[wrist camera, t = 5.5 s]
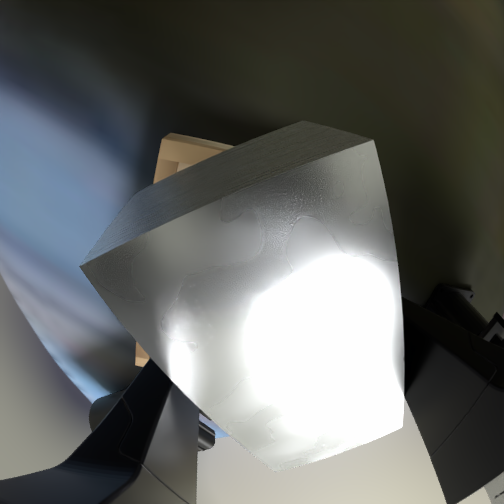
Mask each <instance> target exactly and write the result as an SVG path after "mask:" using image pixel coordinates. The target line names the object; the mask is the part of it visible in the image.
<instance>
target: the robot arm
mask: <svg viewBox="0 0 504 504" xmlns="http://www.w3.org/2000/svg"><path fill="white" fill-rule="evenodd" d="M474 295H475V293H474V292H473V291H472V290H469V289H464V288H460V287H455V286H450V285H446V284H439V285H438V286H437V287H436V289H435V291H434V293H433V294H432V296H431V298H430V300H429V301H428V303H427V305H426V306H425V308H423V307H421V306H419V305H417V304H415V303H413V302H411V301H409V300H407V299H405V298H403V297H401V301H402V314H403V332H404V396H405V399H406V401H407V403H408V406H409V408H410V410H411V412H412V415H413V417H414V419H415V422H416V424H417V426H418V429H419V431H420V433H421V436H422V438H423V441H424V443H425V445H426V448H427V450H428V453H429V456H430V459H431V461H432V464H433V467H434V469H435V471H436V474H437V477H438V480H439V483H440V485H441V488H442V491H443V493H444V497H445V500H446V503H447V504H457V503H459V502H460V501H462V500H464V499H465V498H467V497H468V496H470V495H472V494H473V493H474V492H476V491H478V490H479V489H481V488H482V487H485V489H486V492H487V494H488V496H489V498H490V500H491V503H492V504H504V319H503V318H502V317H501V316H500V315H499V314H498V313H497V312H496V313H495V314H494V316H493V318H492V320H491V321H490V322H489V323H488V322H487V321H486V320H485V319H484V317H483V316H482V315H481V314H480V313H479V312H478V311H477V310H476V309H475V308H474V307H473V306H472V305H471V304H470V302H471V301H472V299H473V297H474ZM199 409H200V408H199V407H198V406H197V405H196V404H195V403H194V402H193V401H192V400H190V399H189V398H188V397H187V396H186V395H185V394H184V393H183V392H182V391H181V390H180V388H179V387H178V386H177V385H176V384H175V383H174V382H173V381H172V380H171V379H170V378H169V377H168V376H167V375H166V374H165V373H164V372H163V371H162V370H161V368H160V367H159V366H158V365H157V364H156V363H155V362H154V361H153V360H152V359H151V357H150V359H149V360H148V361H147V363H146V364H145V365H144V367H143V368H142V369H141V371H140V372H139V373H138V375H137V376H136V377H135V379H134V380H133V381H132V383H131V384H130V385H129V387H128V388H127V389H126V391H125V392H124V393H123V395H122V398H120V399H119V400H118V401H117V403H116V404H115V405H114V407H113V408H112V409H111V411H110V412H109V413H108V414H107V416H106V417H105V418H104V419H103V420H102V422H101V423H100V424H99V425H98V426H97V427H96V428H95V430H94V431H93V432H92V433H91V434H90V435H89V436H88V437H87V438H86V439H85V440H84V441H83V442H82V444H81V445H80V446H79V447H78V448H77V449H76V450H75V451H74V452H73V453H72V454H71V455H70V456H69V457H68V458H67V459H66V460H65V461H64V462H62V463H61V464H59V465H57V466H55V467H53V468H50V469H46V470H43V471H39V472H35V473H31V474H27V475H23V476H18V477H14V478H9V479H4V480H0V504H196V488H197V487H196V486H197V454H198V429H199Z"/></svg>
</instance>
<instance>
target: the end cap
mask: <svg viewBox="0 0 504 504" xmlns="http://www.w3.org/2000/svg"><path fill="white" fill-rule="evenodd" d="M125 391H126V389H125V390H122V391H119V392H116V393H113V394H110V395H107V396H104V397H101V398H99V399H97V400H96V401H94V403H93V404H92V406H91V409H90V413H89V423H90V428H91V430H92V432H93V431H94V430H95V428H96V427H97V426H98V425H99V424H100V423H101V422H102V420H103V419H104V418H105V417H106V416H107V414H108V413H109V412H110V411H111V409H112V408H113V407H114V405H115V404H116V403H117V401H118V400H119V399H120V398H122V395H123V393H124V392H125ZM199 413H201V414H202V415H203V416H205V417H206V418H207V419H209V420H212V419H210V418H209V417H208V416H207V415H206V414H205V413H204V412H203V411H202V410H201V409H199ZM214 444H215V431H214V430H212V429H211V428H209V427H208V426H207V425H205V424H204V423H202V422H201V421H200V420H199V429H198V451H204V450H206V449H210V448H212V447H213V446H214Z"/></svg>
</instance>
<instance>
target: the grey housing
mask: <svg viewBox="0 0 504 504" xmlns="http://www.w3.org/2000/svg"><path fill="white" fill-rule="evenodd" d="M79 267H80V268H81V269H82V271H83V272H84V274H85V275H86V277H87V278H88V279H89V281H90V282H91V284H92V285H93V286H94V288H95V289H96V291H97V292H98V293H99V295H100V296H101V297H102V299H103V300H104V301H105V303H106V304H107V305H108V307H109V308H110V309H111V311H112V312H113V313H114V314H115V316H116V317H117V318H118V319H119V321H120V322H121V323H122V324H123V326H124V327H125V328H126V329H127V331H128V332H129V333H130V334H131V335H132V337H133V338H134V339H135V340H136V341H137V343H138V344H139V345H140V346H141V347H142V348H143V350H144V351H145V352H146V353H147V354H148V355H149V356H150V357H151V359H152V360H153V361H154V362H155V363H156V364H157V365H158V366H159V367H160V368H161V370H162V371H163V372H164V373H165V374H166V375H167V376H168V377H169V378H170V379H171V380H172V381H173V382H174V383H175V384H176V385H177V386H178V387H179V388H180V390H181V391H182V392H183V393H184V394H185V395H186V396H187V397H188V398H189V399H190V400H192V401H193V402H194V403H195V404H196V405H197V406H198V407H199V408H200V409H201V410H202V411H203V412H204V413H205V414H206V415H207V416H208V417H209V418H210V419H212V420H213V421H214V422H215V423H216V424H217V425H218V426H219V427H220V428H221V429H223V430H224V431H225V432H226V433H227V434H228V435H229V436H231V437H232V438H233V439H234V440H235V441H236V442H238V443H239V444H240V445H241V446H242V447H244V448H245V449H246V450H247V451H249V452H250V453H251V454H252V455H254V456H255V457H256V458H257V459H258V460H260V461H261V462H262V463H263V464H265V465H266V466H267V467H269V468H270V469H271V470H273V471H274V472H279V471H283V470H287V469H291V468H294V467H298V466H302V465H305V464H308V463H312V462H315V461H318V460H321V459H324V458H327V457H330V456H333V455H336V454H339V453H342V452H344V451H347V450H350V449H353V448H355V447H358V446H360V445H363V444H365V443H368V442H370V441H373V440H375V439H377V438H380V437H382V436H384V435H386V434H388V433H391V432H393V431H395V430H397V429H399V428H401V427H402V425H403V408H404V332H403V314H402V301H401V289H400V279H399V270H398V262H397V254H396V247H395V240H394V234H393V228H392V222H391V216H390V210H389V205H388V200H387V195H386V190H385V185H384V181H383V176H382V172H381V167H380V163H379V159H378V155H377V151H376V147H375V143H374V140H372V139H369V138H366V137H363V136H359V135H356V134H353V133H349V132H346V131H342V130H339V129H335V128H331V127H328V126H324V125H320V124H316V123H312V122H308V121H304V120H303V121H300V122H297V123H294V124H292V125H289V126H286V127H283V128H281V129H278V130H275V131H273V132H270V133H267V134H265V135H262V136H260V137H257V138H255V139H252V140H250V141H247V142H245V143H242V144H240V145H237V146H235V147H233V148H230V149H228V150H225V151H223V152H221V153H219V154H216V155H214V156H212V157H209V158H207V159H205V160H203V161H200V162H198V163H196V164H194V165H192V166H190V167H187V168H185V169H183V170H181V171H179V172H177V173H175V174H173V175H171V176H169V177H167V178H165V179H163V180H161V181H159V182H157V183H155V184H153V185H151V186H149V187H147V188H145V189H143V190H141V191H139V192H137V193H135V194H134V195H133V197H132V198H131V199H130V200H129V201H128V203H127V204H126V205H125V206H124V208H123V209H122V210H121V211H120V213H119V214H118V215H117V216H116V218H115V219H114V220H113V221H112V223H111V224H110V225H109V227H108V228H107V229H106V230H105V232H104V233H103V234H102V236H101V237H100V238H99V240H98V241H97V242H96V244H95V245H94V247H93V248H92V249H91V251H90V252H89V253H88V255H87V256H86V258H85V259H84V261H83V262H82V263H81V265H80V266H79Z"/></svg>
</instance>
